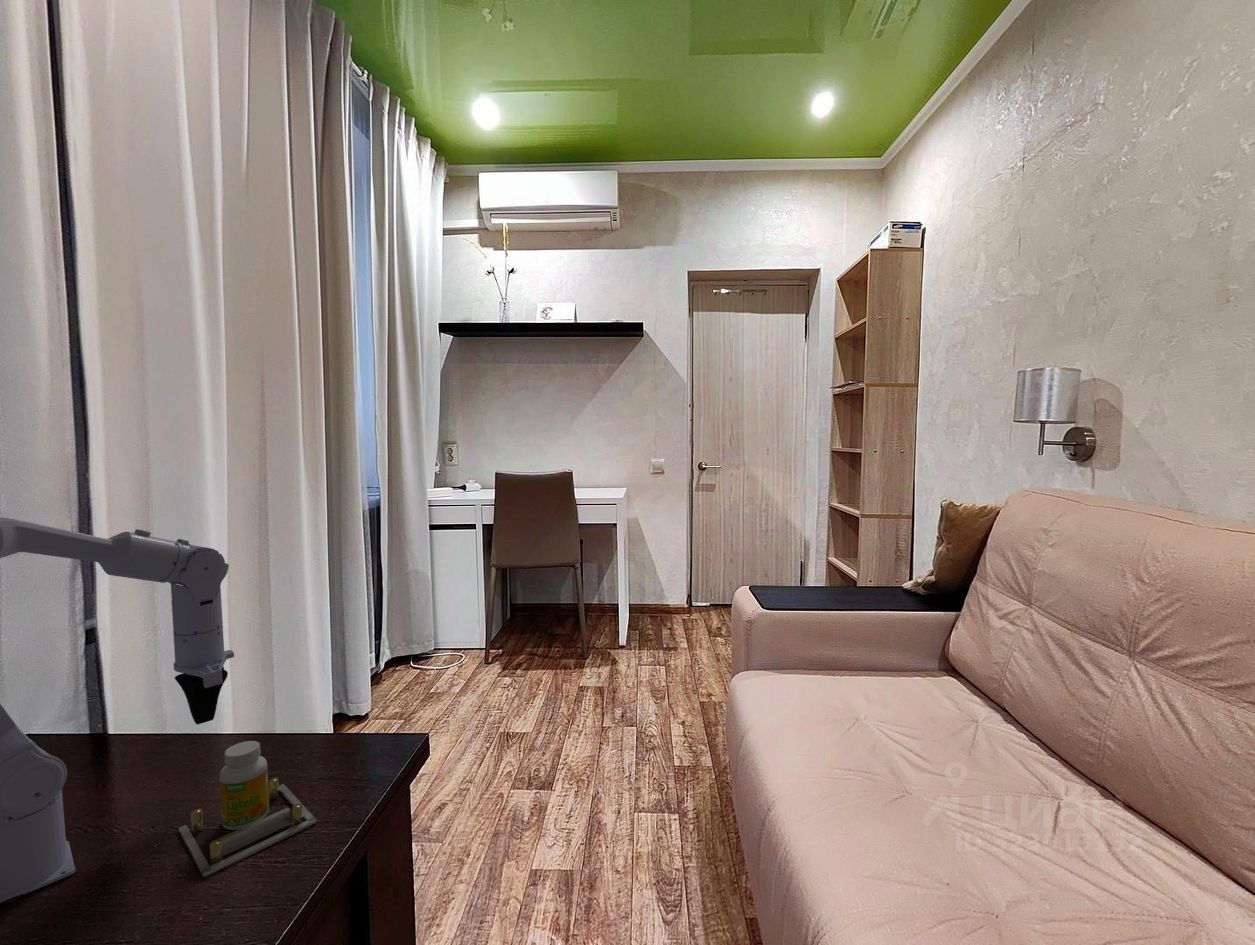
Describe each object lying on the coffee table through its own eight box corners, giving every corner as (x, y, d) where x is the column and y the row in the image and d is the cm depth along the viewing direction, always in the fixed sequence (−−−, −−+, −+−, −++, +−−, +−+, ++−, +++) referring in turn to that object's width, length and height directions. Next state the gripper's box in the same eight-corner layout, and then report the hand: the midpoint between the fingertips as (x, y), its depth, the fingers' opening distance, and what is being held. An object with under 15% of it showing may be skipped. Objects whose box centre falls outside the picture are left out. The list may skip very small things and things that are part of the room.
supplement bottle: (221, 837, 74) (217, 764, 74) (222, 815, 79) (218, 745, 78) (270, 821, 77) (266, 750, 77) (269, 800, 82) (265, 733, 81)
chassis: (203, 877, 68) (202, 857, 67) (179, 831, 76) (177, 813, 75) (316, 823, 77) (315, 805, 77) (283, 787, 85) (282, 770, 85)
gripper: (245, 632, 81) (250, 726, 82) (218, 612, 91) (223, 696, 92) (183, 646, 76) (189, 746, 77) (161, 623, 86) (167, 712, 87)
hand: (204, 720), depth 84 cm, fingers closed
